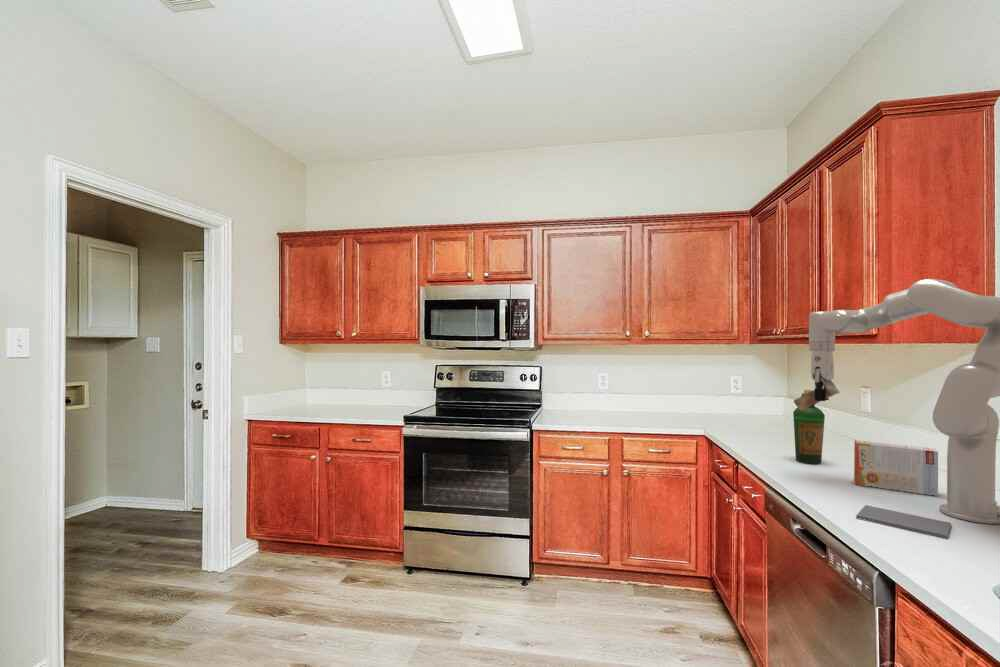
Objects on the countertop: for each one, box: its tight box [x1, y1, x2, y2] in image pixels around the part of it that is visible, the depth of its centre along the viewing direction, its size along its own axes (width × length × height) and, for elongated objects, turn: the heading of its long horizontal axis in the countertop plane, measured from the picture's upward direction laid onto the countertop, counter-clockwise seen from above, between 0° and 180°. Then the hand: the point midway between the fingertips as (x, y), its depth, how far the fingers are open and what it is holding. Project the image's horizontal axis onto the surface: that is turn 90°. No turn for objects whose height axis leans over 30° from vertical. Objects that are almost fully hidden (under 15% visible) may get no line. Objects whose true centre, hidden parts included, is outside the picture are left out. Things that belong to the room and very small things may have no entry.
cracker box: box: [853, 439, 939, 497], centre depth 158 cm, size 14×6×21 cm
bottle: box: [792, 389, 825, 465], centre depth 191 cm, size 11×11×28 cm
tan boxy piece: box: [793, 378, 841, 411], centre depth 171 cm, size 13×8×6 cm
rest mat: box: [855, 504, 952, 540], centre depth 128 cm, size 18×12×1 cm, turn 44°
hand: (821, 399), depth 169 cm, fingers closed on tan boxy piece, 3 cm apart
